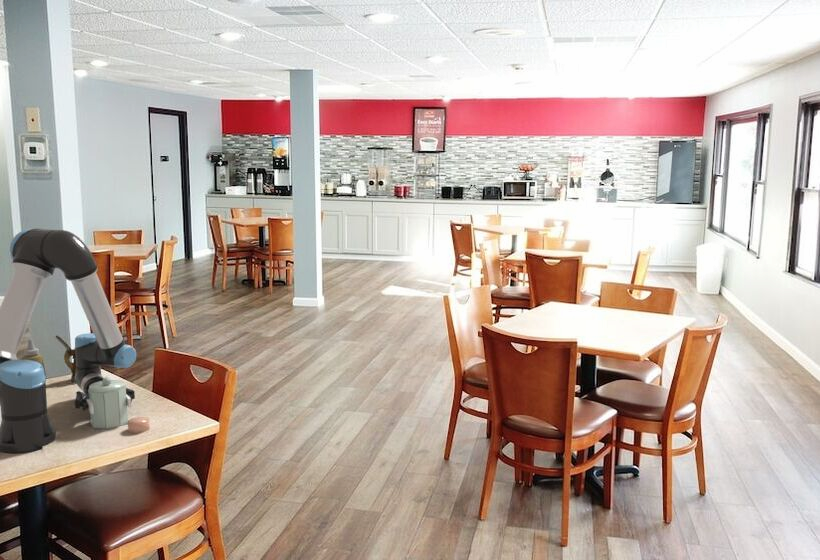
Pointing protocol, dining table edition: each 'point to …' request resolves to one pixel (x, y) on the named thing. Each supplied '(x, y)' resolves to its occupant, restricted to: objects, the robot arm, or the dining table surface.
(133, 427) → the light brown short cylinder
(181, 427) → the dining table surface
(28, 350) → the squeeze bottle
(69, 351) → the wooden mug
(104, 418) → the lidded canister jar
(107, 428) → the mat
